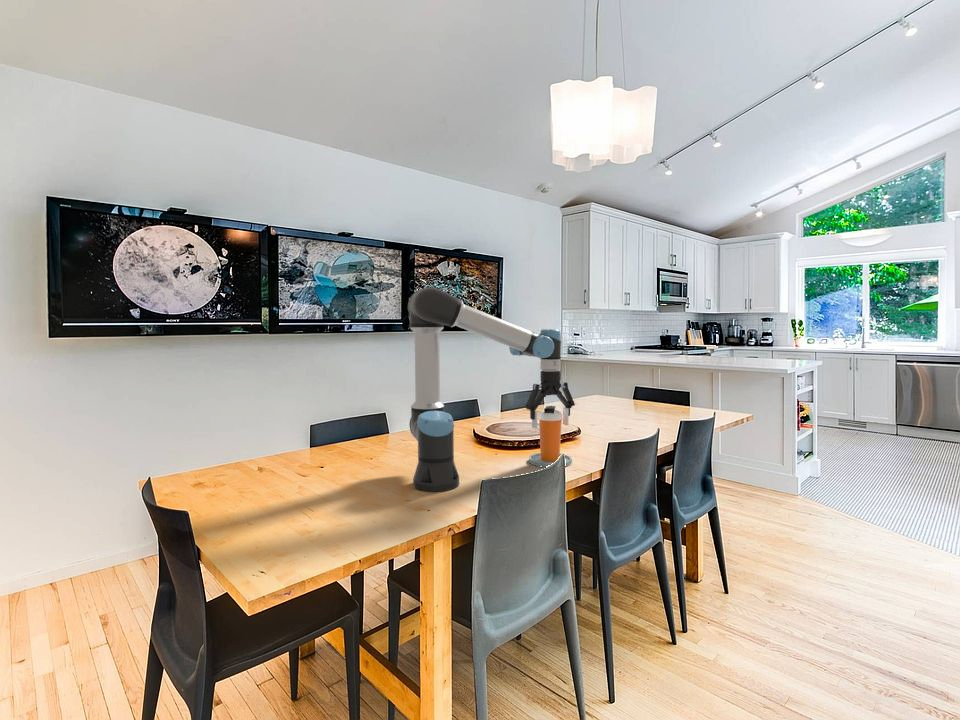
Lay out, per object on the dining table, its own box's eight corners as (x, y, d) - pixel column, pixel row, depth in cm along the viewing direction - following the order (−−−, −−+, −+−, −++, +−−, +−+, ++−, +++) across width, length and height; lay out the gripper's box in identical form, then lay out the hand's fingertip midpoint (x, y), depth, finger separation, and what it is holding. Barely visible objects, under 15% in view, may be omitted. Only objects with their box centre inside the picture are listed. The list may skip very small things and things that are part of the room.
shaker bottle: (561, 456, 198) (561, 405, 196) (562, 462, 189) (563, 409, 187) (538, 456, 199) (538, 405, 197) (538, 462, 190) (538, 409, 188)
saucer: (542, 470, 183) (542, 465, 183) (521, 459, 198) (521, 455, 198) (580, 464, 190) (580, 460, 190) (556, 454, 204) (556, 450, 204)
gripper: (526, 372, 183) (526, 431, 184) (584, 369, 193) (583, 425, 194) (516, 370, 189) (516, 427, 191) (572, 368, 200) (572, 421, 201)
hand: (550, 426), depth 193 cm, fingers open, 13 cm apart
